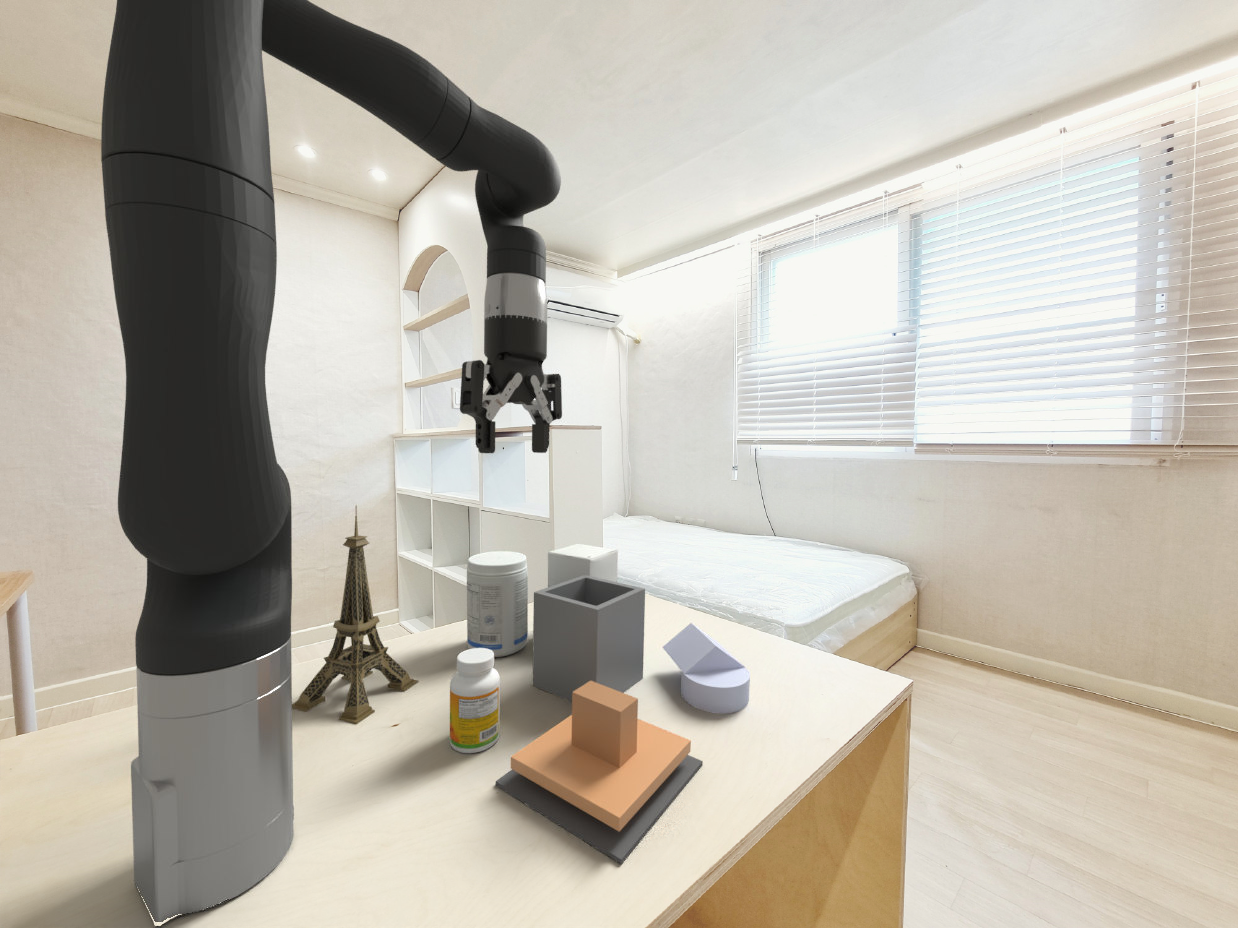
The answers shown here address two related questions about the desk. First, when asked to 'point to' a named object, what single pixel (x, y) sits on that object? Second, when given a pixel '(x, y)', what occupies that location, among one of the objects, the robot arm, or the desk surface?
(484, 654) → the supplement bottle
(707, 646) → the wedge on round base
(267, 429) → the robot arm
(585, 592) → the storage box
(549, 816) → the rubber mat
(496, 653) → the supplement tub
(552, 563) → the supplement box
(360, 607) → the eiffel tower
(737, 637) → the desk surface
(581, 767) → the lid
